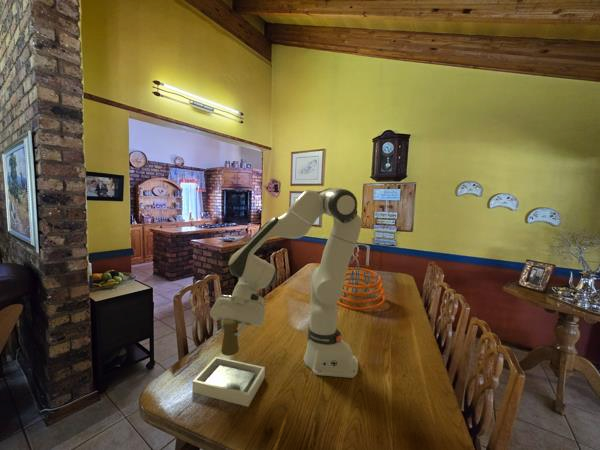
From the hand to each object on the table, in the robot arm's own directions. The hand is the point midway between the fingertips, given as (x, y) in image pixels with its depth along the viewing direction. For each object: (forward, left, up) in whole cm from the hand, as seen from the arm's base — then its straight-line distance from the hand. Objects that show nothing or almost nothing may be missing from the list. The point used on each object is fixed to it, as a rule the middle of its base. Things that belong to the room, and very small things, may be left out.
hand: (229, 334), depth 91 cm
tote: (-2, +2, -18) cm, 18 cm away
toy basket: (-44, -97, -18) cm, 108 cm away
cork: (0, -1, -6) cm, 6 cm away
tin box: (-2, +2, -17) cm, 17 cm away
